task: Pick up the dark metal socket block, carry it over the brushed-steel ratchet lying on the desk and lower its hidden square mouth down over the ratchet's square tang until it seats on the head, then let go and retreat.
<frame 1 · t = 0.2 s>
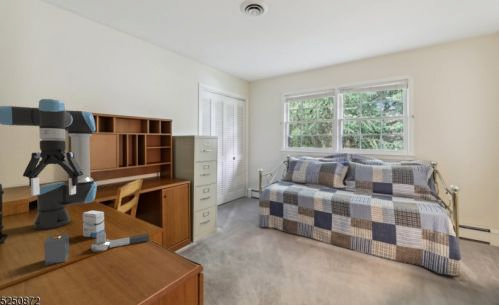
hand: (54, 194, 86), 26 cm above the table, fingers open, 13 cm apart
ink box: (94, 235, 111), on the table
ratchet: (101, 248, 97), on the table
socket: (57, 260, 87), on the table
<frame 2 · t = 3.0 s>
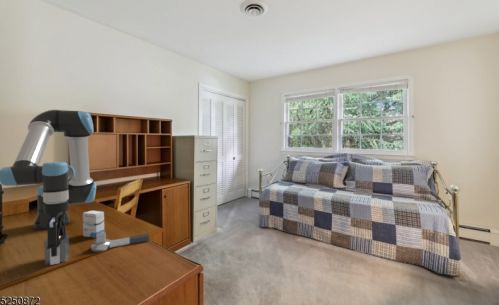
hand: (57, 259, 87), 0 cm above the table, fingers open, 6 cm apart
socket: (57, 260, 87), on the table, touching gripper
everything else where it was.
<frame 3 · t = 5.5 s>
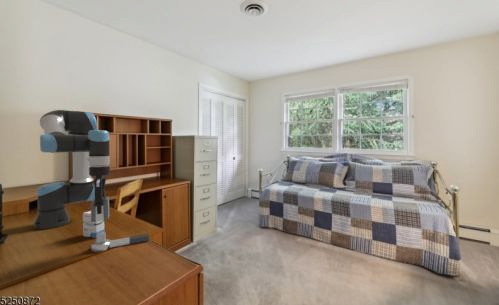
hand: (100, 218, 97), 13 cm above the table, fingers closed on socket, 6 cm apart
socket: (100, 219, 97), point 13 cm above the table, touching gripper
everything else where it was.
when the fingers open (3 cm above the table, at t = 7.3 s): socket stays where it is, resting on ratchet.
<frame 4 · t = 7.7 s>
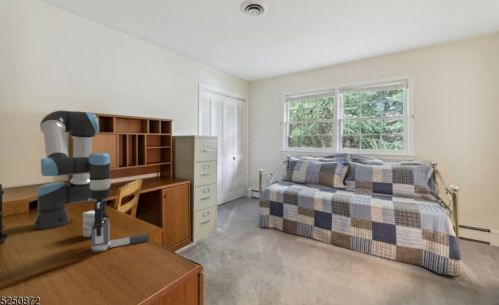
hand: (101, 237, 97), 5 cm above the table, fingers open, 12 cm apart
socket: (101, 242, 97), point 2 cm above the table, touching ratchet
everything else where it was.
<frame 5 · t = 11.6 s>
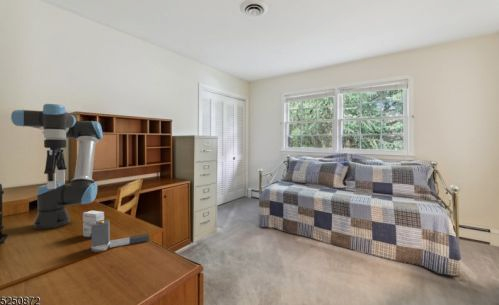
hand: (56, 186, 100), 27 cm above the table, fingers open, 13 cm apart
nothing on the table moved.
at the end: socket 0.0 cm off-centre on the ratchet, point 2.5 cm above the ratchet's base; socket tilted 0°; the gripper is holding nothing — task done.
